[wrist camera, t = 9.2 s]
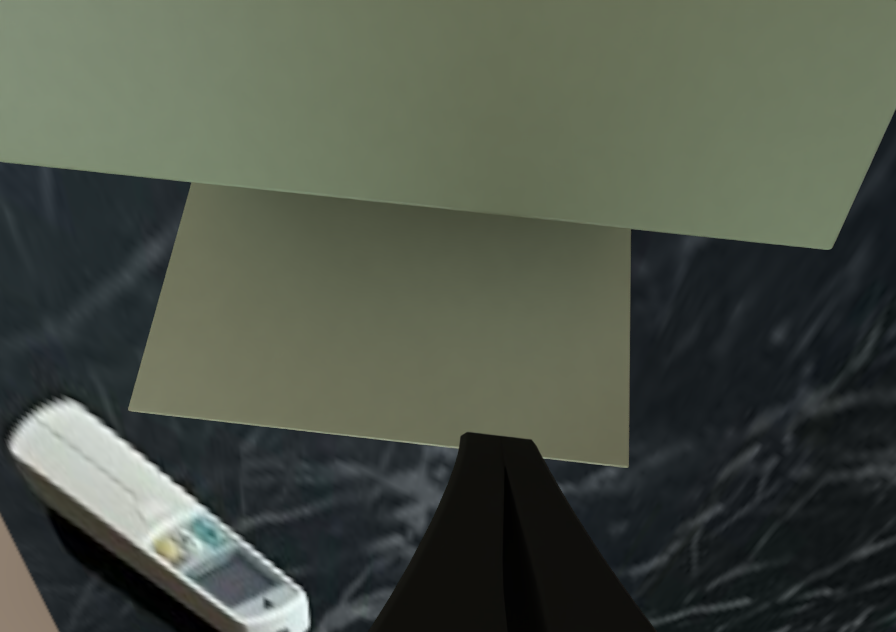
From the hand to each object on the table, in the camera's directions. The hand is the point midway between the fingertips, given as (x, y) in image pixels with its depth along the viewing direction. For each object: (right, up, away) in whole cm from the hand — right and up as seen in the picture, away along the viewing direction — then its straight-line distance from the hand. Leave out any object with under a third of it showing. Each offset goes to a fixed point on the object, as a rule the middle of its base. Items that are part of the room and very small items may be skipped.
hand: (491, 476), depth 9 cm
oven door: (-2, +7, +9) cm, 12 cm away
